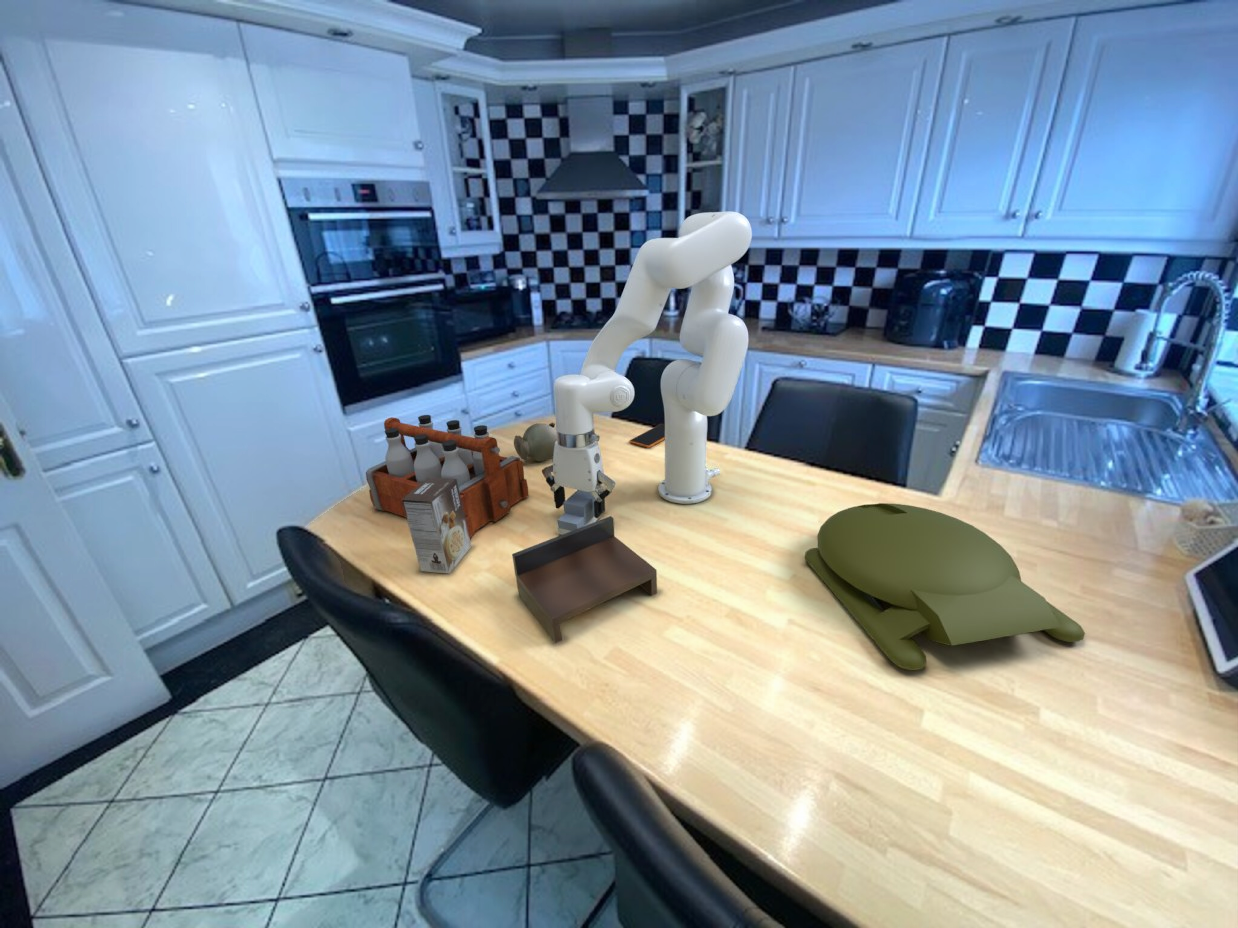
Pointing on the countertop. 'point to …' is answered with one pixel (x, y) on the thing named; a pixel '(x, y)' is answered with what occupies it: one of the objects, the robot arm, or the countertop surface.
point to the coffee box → (437, 524)
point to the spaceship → (927, 581)
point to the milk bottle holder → (447, 470)
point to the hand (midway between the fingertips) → (579, 510)
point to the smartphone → (650, 437)
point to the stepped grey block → (577, 512)
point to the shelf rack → (578, 573)
